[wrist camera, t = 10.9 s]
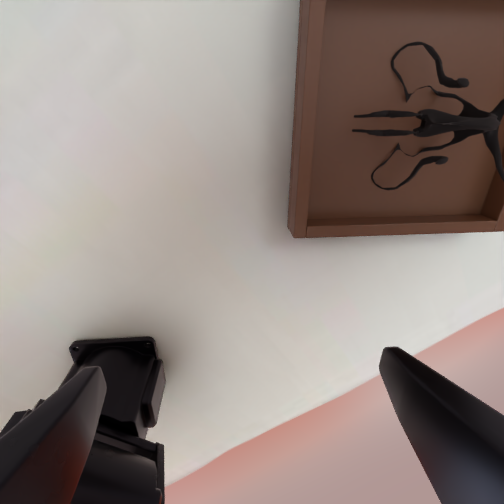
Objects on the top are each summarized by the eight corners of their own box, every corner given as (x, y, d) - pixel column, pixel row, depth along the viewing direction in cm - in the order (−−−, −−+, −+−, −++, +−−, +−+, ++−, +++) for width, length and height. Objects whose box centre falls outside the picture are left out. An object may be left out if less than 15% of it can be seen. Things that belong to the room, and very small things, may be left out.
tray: (287, 227, 20) (293, 238, 18) (301, -27, 14) (313, -49, 12) (479, 221, 21) (504, 231, 19) (564, -16, 15) (612, -35, 14)
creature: (339, 185, 20) (464, 188, 19) (354, 207, 15) (523, 213, 14) (357, 48, 16) (510, 42, 15) (383, 18, 11) (610, 7, 10)
